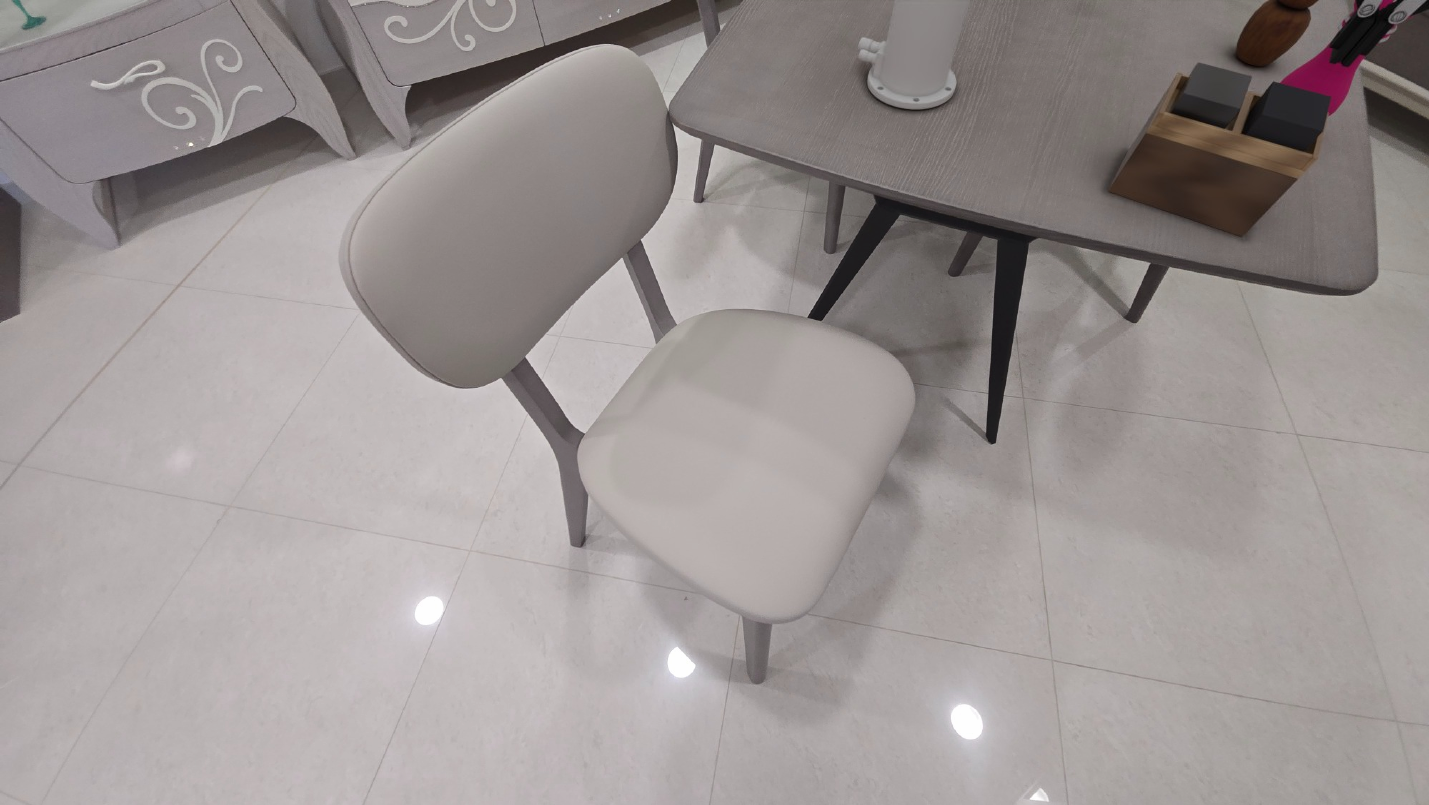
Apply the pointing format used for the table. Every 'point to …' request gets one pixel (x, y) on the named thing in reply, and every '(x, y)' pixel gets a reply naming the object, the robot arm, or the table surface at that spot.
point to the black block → (1288, 116)
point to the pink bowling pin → (1330, 71)
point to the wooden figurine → (1273, 30)
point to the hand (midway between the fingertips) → (1340, 58)
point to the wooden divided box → (1209, 154)
